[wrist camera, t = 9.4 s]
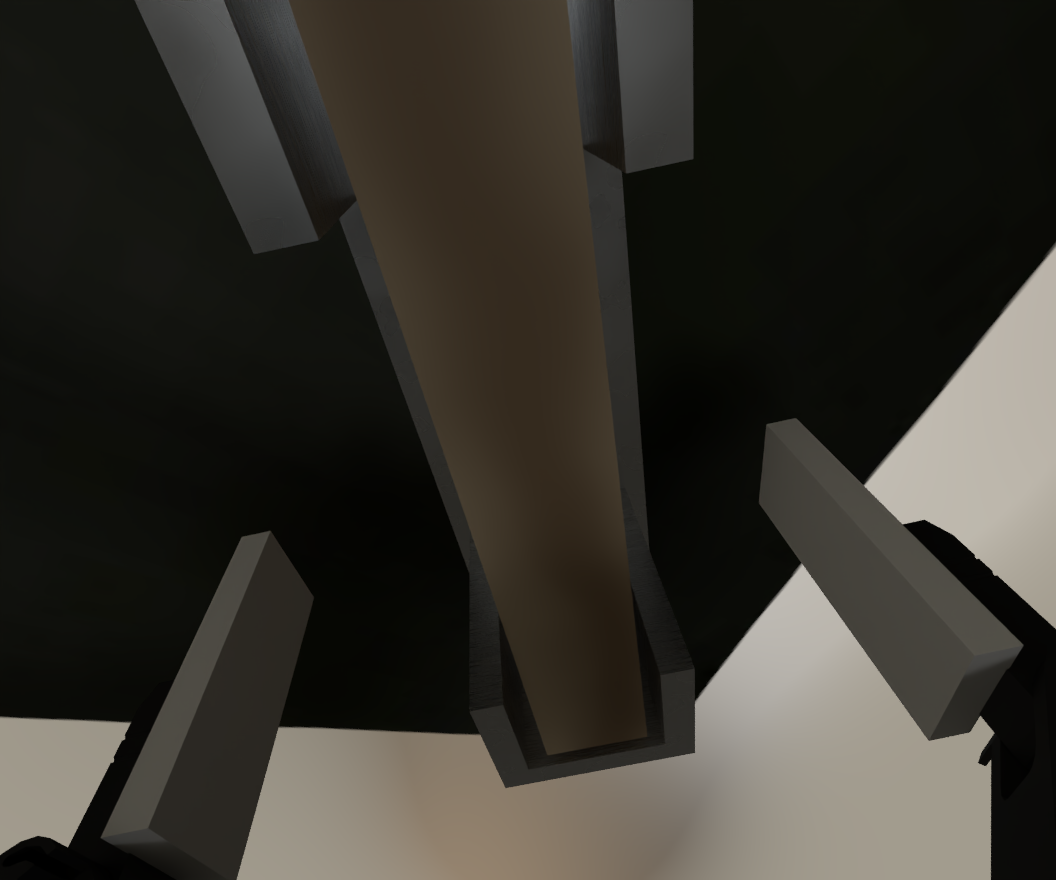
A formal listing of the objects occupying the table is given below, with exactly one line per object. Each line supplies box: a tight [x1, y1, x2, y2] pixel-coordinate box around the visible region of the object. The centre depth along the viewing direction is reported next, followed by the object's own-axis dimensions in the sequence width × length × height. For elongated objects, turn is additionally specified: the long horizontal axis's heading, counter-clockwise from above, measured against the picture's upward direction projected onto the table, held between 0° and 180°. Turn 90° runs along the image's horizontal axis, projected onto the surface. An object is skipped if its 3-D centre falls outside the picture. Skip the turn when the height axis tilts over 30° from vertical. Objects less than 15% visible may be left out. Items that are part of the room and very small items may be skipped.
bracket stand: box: [135, 0, 695, 788], centre depth 18 cm, size 10×30×11 cm, turn 10°
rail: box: [288, 0, 647, 756], centre depth 16 cm, size 4×24×5 cm, turn 11°
